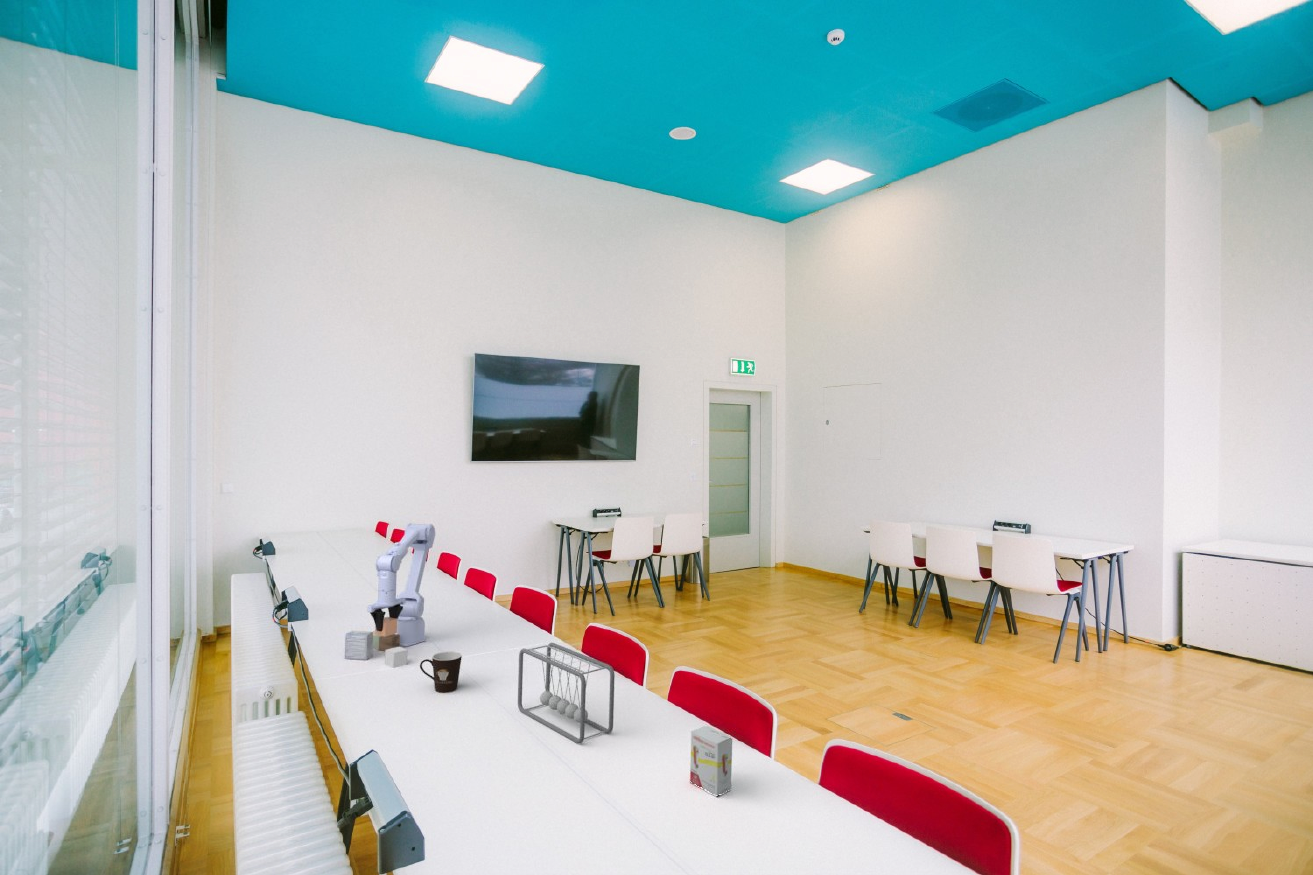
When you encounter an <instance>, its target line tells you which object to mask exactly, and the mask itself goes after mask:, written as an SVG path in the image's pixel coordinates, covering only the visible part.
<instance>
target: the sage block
mask: <svg viewBox="0 0 1313 875" xmlns="http://www.w3.org/2000/svg"><path fill="white" fill-rule="evenodd" d="M372 632H373V650H379V637H380V635H376V634H375V630H374V631H372Z"/></svg>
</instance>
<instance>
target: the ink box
mask: <svg viewBox="0 0 1313 875" xmlns="http://www.w3.org/2000/svg"><path fill="white" fill-rule="evenodd" d="M690 733H691V735H690V736H691V737H690V770H689V771H690V774H689V777H690V778H689V782H690V781H691V782H692V783H694V784H696V785H697V786H699V787H702V788H703V789H706V790H707V791H709V792H710V793H712V794H715V795H719V794H723V793H725V792H726V791H728V790H730V789H731V790H732V768H733V764H732V762H733V760H732V759H733V738H732V737H731V736H730V735H728V734H726V733H724V732H722V731H720V730H718V729H716V728H714V727H712V726H709V725H704V726H701V727H699V728H696V729H694V730H692V731H691V732H690ZM697 786H696V787H697ZM699 787H698V788H699ZM710 793H709V794H710ZM712 794H711V795H712ZM725 794H726V793H725ZM723 795H724V794H723Z"/></svg>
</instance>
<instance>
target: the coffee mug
mask: <svg viewBox="0 0 1313 875" xmlns="http://www.w3.org/2000/svg"><path fill="white" fill-rule="evenodd" d="M462 657H463V654H462V653H460V652H459V651H458V652H457V651H443V652H437V653H434V654H433V655H432V656H431V659H428V658H427V659H424V660H422V661H421V662H420V664H419V668H420V670H421V672H422V673H423V674H424V675H426V676H427V677H428V678H430V679H432V680H433V683H434V691H435V692H437V693H440V694H448V693H453V692H455V691H456V690H457V689H458V685H459V676H460V670H461V666H462V665H461V663H462ZM425 662H429V663H430V664H431V666H432V669H433V670H432V672H433V676H432V675H431V674H429V673H428V672H426V671H425V670H424V668H423V663H425Z"/></svg>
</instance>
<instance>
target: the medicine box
mask: <svg viewBox="0 0 1313 875" xmlns="http://www.w3.org/2000/svg"><path fill="white" fill-rule="evenodd" d="M373 653H374V649H373V631H365V630H350V631H348V632H347V633H345V634H344V659H345V660H359V661H367V660H369V659H370V658H372V657H373Z"/></svg>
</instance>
